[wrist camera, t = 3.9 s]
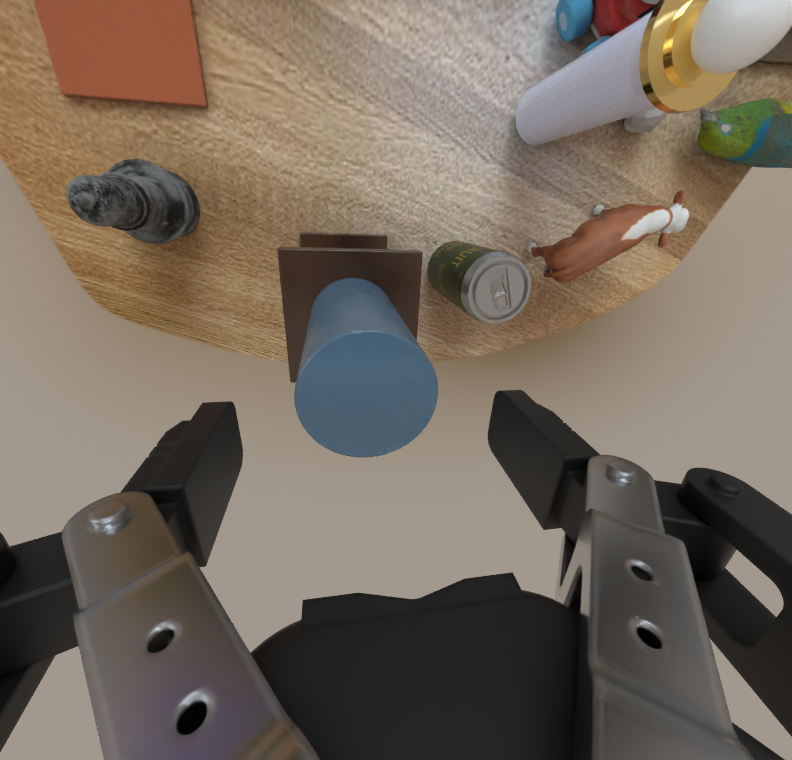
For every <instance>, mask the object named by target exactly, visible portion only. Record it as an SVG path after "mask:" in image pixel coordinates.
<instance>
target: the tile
mask: <svg viewBox="0 0 792 760" xmlns="http://www.w3.org/2000/svg"><path fill="white" fill-rule="evenodd" d="M34 3H35V6H36V10H37V13H38V16H39V20H40V23H41V27H42V30H43V33H44V37H45V40H46V44H47V47H48V51H49V54H50V57H51V61H52V64H53V68H54V71H55V74H56V78H57V81H58V85H59V88H60V91H61V94H63V95H66V96H73V97H85V98H97V99H109V100H121V101H133V102H145V103H157V104H169V105H181V106H193V107H205V108H207V107H208V104H207V98H206V91H205V84H204V78H203V71H202V65H201V58H200V52H199V45H198V39H197V32H196V26H195V19H194V13H193V6H192V0H34Z"/></svg>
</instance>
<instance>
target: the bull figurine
mask: <svg viewBox="0 0 792 760" xmlns="http://www.w3.org/2000/svg"><path fill="white" fill-rule="evenodd" d="M684 202H685V192H684V191H679V192H677V193H676V195H675V197H674V200H673V206H672V207H670V208H666V207H662V206H648V205H645V206H639V205H635V204H627V205H623V206H620V207H618V208H604V207H603V204H597V205H596V206H595V208H594V213H593V215H600V216H599V217H596V218H593V219H591V220H589V221H587V222H585V223H583V224H582V225H581V226H579V227H578V229H577V230H576V231H575V232H574V233H573V235H572V236H571V237H568V238H565V239H562V240H561V241H559V242H558V243H556V244H554V245H552V246H545V247H537V245H536V243H535V241H531V242H530V243H529V244H528V248H527V251H528V252H529V253H532V255H533V256H534V257H537V256H542V257H544V259H545V262H546V264H547V265H548V266H542V267H541V269H540V272H541V273H542V274H543V275H544V277H553V278H554V279H555V280H556V281H558V282H569V281H572V280H574V279H575V278H577V277H578V276H580V275H581V274H583V273H585V272H588V271H590V270H592V269H594V268H596V267H597V266H599V265H601V264H603V263H605V262H606V261H608V260H610V259H612V258H614V257H615V256H617V255H619V254H620V253H622V252H624V251H627V250H628V249H630V248H632V247H634V246H635V245H637V244H638V243H640V242H641V241H642V240H643V239H644V238H645V237H646V236H648V235H651V234H654V233H656V232H657V231H662V233H661V236H660V238H659V242H658V246H659V247H664V246H665V245H666V244H667V243H668V242H669V240H670V234H671V233H678V232H680V231H681V230H683V229H684V227H685V225H686V223H687V220H688V217H689V212H688V210H687V209H686V208H681V207H682V205H683V203H684ZM551 270H552V271H551ZM550 271H551V273H550Z"/></svg>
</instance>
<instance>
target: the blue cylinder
mask: <svg viewBox="0 0 792 760" xmlns="http://www.w3.org/2000/svg"><path fill="white" fill-rule="evenodd" d="M294 394H295V407H296V411H297V414H298V417H299V420H300V421H301V424H302V425H303V427H304V428H305V430H306V431H307V432H308V434H309V435H310V436H311V437H312V438H313V439H314V440H315V441H317V442H318V443H319V444H320V445H322V446H324V447H325V448H327V449H329V450H331V451H333V452H335V453H339V454H342V455H346V456H351V457H374V456H380V455H384V454H387V453H390V452H393V451H395V450H397V449H400V448H402V447H403V446H405V445H407V444H408V443H409V442H411V441H412V440H413V439H415V438H416V437H417V436H418V435H419V434H420V433H421V432H422V431H423V429H424V428H425V427H426V425H427V424H428V422H429V420H430V419H431V417H432V415H433V413H434V409H435V406H436V403H437V396H438V384H437V378H436V375H435V371H434V368H433V366H432V364H431V362H430V361H429V359H428V358H427V356H426V354H425V353H424V351H423V350H422V348H421V347H420V345H419V344H418V342H417V341H416V339H415V338H414V336H413V335H412V333H411V331H410V330H409V328H408V327H407V325H406V324H405V322H404V321H403V319H402V318H401V316H400V315H399V313H398V312H397V310H396V309H395V307H394V305H393V304H392V302H391V301H390V299H389V298H388V296H387V295H386V294H385V293H384V291H383V290H382V289H380V288H379V287H378V286H376V285H375V284H373V283H371V282H369V281H366V280H363V279H359V278H346V279H341V280H338V281H335V282H333V283H331V284H330V285H328V286H327V287H326V288H324V289H323V290H322V291H321V292H320V294H319V295H318V296H317V298H316V299H315V302H314V304H313V307H312V310H311V315H310V319H309V324H308V329H307V333H306V338H305V343H304V348H303V352H302V357H301V362H300V367H299V371H298V376H297V381H296V386H295V393H294Z"/></svg>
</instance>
